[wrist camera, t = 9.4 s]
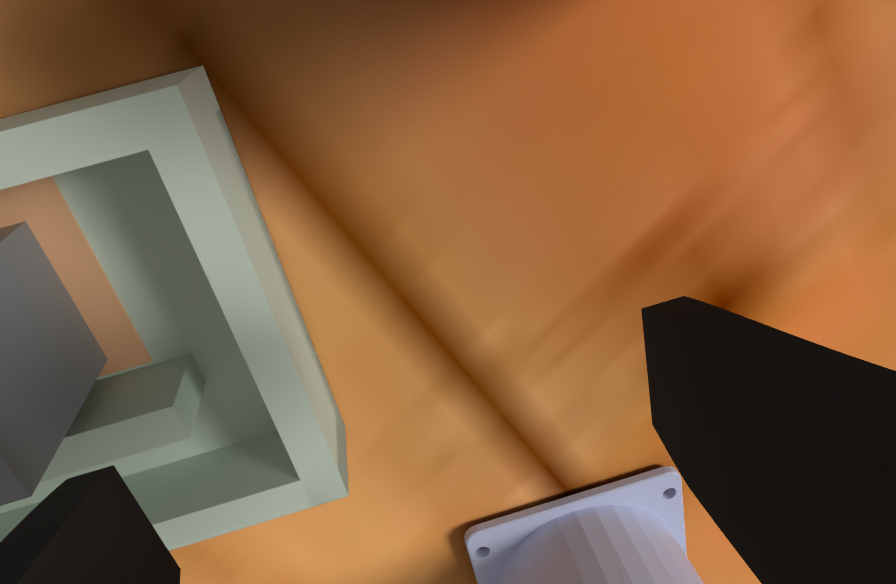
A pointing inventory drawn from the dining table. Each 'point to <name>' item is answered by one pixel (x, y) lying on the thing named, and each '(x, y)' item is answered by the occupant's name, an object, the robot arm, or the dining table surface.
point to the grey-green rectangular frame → (173, 312)
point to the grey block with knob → (37, 362)
